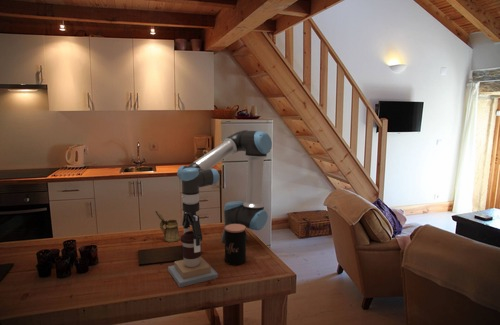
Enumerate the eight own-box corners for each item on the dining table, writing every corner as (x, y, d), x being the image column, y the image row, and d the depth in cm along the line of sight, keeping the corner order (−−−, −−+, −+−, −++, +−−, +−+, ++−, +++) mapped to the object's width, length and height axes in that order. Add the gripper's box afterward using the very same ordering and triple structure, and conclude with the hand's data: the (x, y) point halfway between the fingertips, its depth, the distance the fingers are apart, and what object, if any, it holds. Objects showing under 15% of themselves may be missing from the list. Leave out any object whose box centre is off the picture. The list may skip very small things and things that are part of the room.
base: (203, 262, 175) (203, 253, 174) (217, 277, 159) (217, 267, 159) (168, 270, 166) (167, 260, 165) (179, 287, 151) (179, 276, 150)
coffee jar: (220, 261, 177) (220, 227, 174) (235, 254, 184) (235, 222, 182) (235, 267, 170) (235, 232, 167) (250, 260, 177) (250, 227, 174)
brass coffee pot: (156, 237, 207) (155, 208, 204) (179, 236, 210) (179, 207, 207) (156, 243, 199) (154, 213, 196) (180, 241, 202) (179, 211, 199)
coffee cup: (198, 269, 156) (197, 238, 154) (177, 267, 158) (176, 236, 156) (205, 260, 166) (205, 230, 163) (186, 258, 168) (185, 228, 165)
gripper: (174, 196, 166) (176, 238, 170) (192, 210, 145) (193, 258, 148) (189, 194, 170) (190, 236, 173) (209, 208, 148) (210, 254, 152)
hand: (192, 246), depth 161 cm, fingers open, 13 cm apart
